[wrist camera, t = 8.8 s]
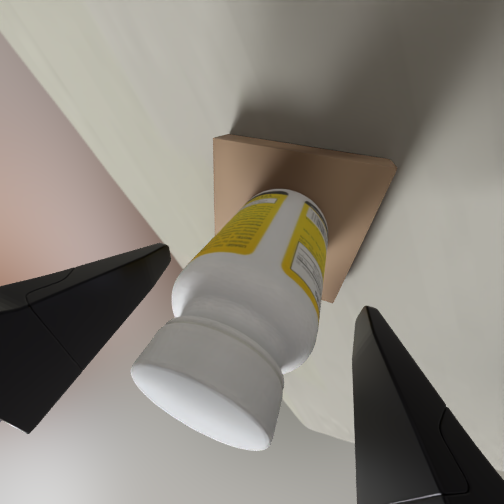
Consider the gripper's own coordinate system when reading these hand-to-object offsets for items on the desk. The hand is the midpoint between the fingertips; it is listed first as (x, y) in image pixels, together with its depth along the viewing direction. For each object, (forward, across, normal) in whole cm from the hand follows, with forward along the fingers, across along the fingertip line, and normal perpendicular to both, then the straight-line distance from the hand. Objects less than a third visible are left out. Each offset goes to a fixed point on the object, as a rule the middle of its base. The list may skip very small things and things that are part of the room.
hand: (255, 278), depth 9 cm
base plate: (+7, 0, 0) cm, 7 cm away
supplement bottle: (+5, 0, 0) cm, 5 cm away
